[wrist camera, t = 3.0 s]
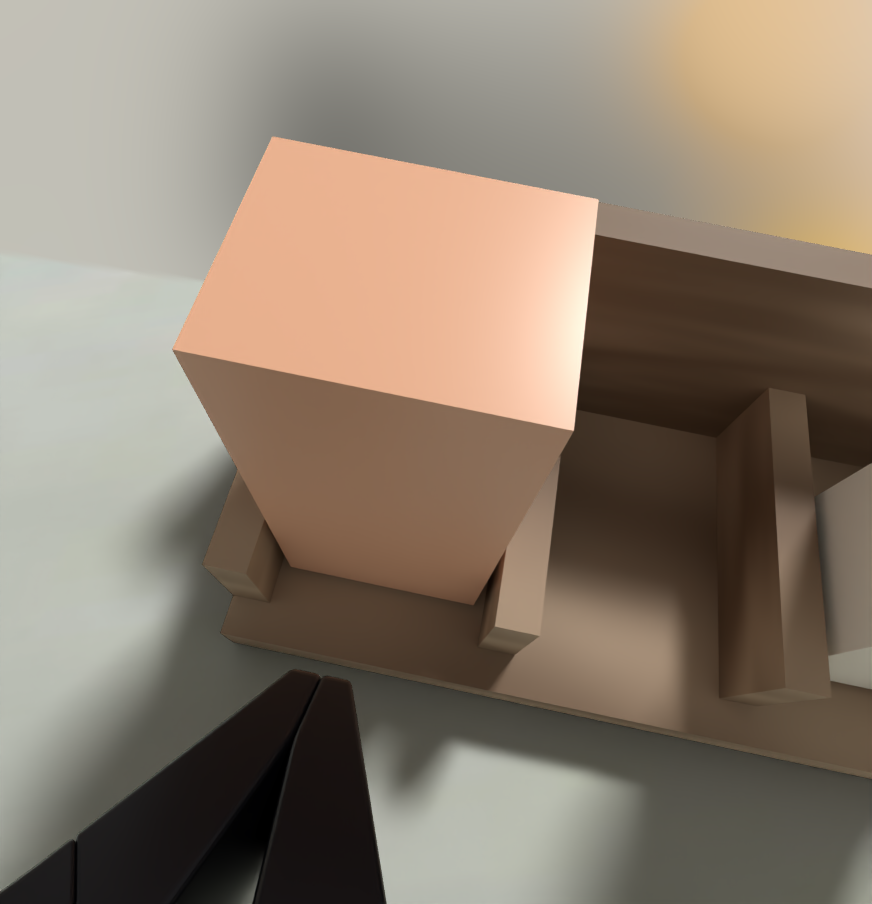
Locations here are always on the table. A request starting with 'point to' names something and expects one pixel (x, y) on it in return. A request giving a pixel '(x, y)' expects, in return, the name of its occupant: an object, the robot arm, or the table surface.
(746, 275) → the wooden desk organizer
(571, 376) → the light orange tall block
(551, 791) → the table surface
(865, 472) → the white tall block
